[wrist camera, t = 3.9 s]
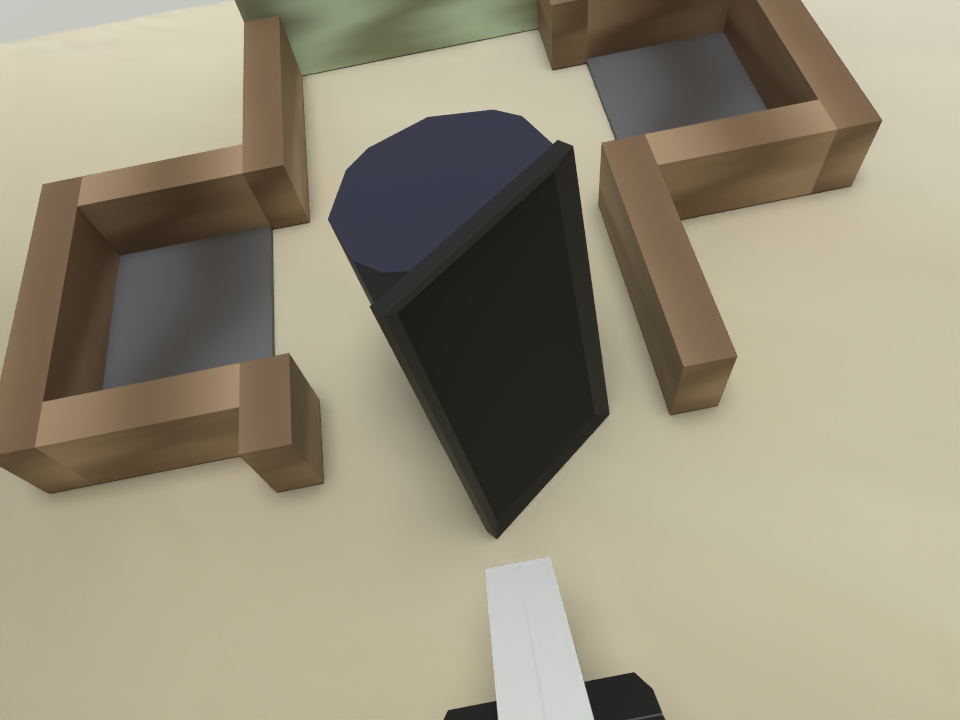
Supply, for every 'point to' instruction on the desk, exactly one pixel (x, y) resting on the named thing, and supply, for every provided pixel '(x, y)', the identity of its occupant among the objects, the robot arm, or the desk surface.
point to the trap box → (284, 202)
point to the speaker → (482, 294)
